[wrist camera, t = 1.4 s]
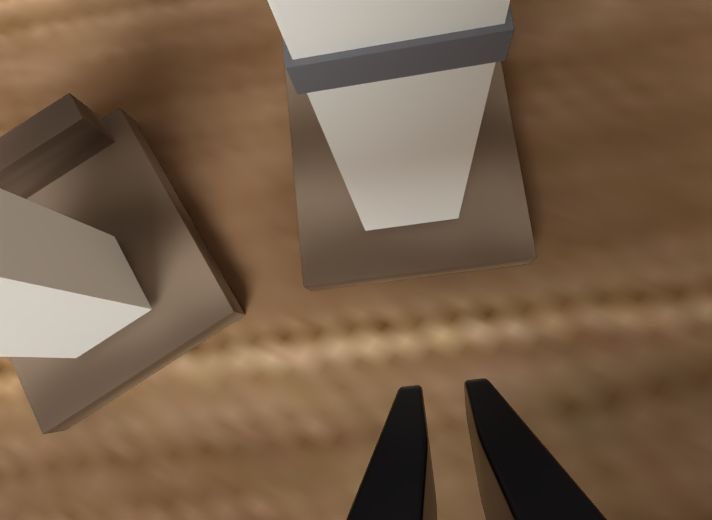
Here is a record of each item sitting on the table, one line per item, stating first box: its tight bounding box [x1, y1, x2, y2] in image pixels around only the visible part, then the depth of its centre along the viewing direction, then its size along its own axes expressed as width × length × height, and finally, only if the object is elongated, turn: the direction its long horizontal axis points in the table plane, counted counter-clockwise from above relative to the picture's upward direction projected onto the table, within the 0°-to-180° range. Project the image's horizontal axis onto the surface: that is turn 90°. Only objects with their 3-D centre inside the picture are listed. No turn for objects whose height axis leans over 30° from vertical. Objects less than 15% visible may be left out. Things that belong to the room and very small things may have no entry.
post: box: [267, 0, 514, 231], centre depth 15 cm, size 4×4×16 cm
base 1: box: [0, 93, 245, 434], centre depth 24 cm, size 12×10×4 cm
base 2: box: [283, 44, 537, 291], centre depth 23 cm, size 12×10×4 cm
